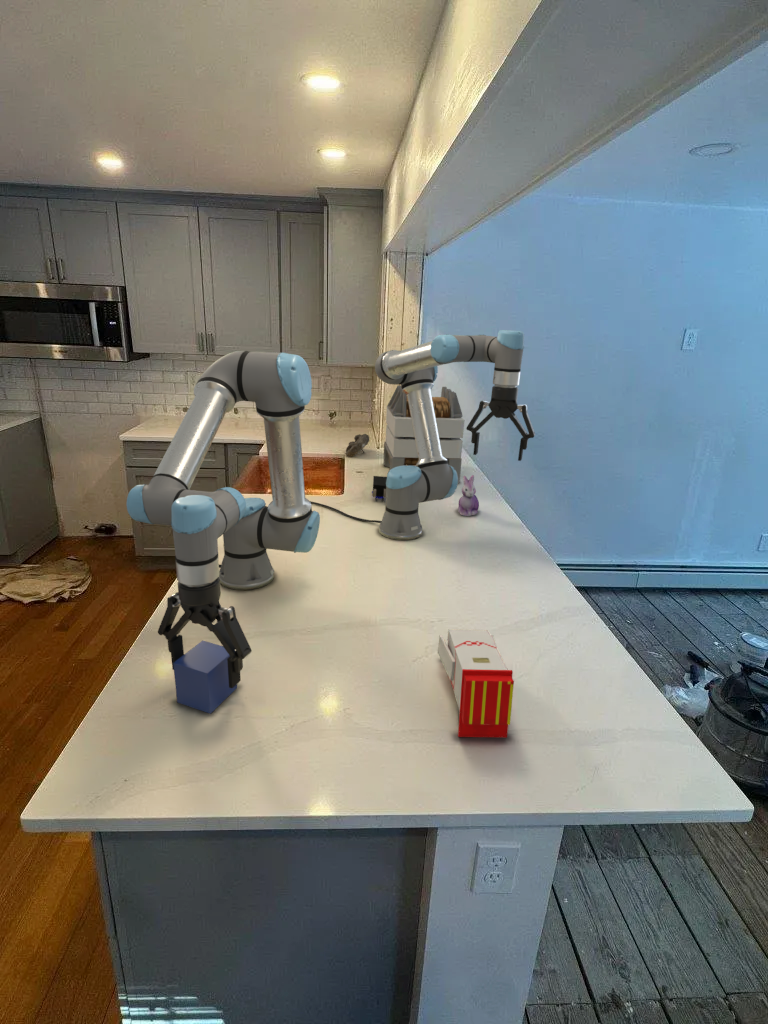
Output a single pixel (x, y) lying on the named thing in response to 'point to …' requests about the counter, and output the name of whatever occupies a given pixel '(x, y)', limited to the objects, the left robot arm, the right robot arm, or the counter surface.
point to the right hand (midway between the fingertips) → (497, 456)
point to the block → (203, 677)
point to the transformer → (401, 433)
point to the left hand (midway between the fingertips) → (206, 675)
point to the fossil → (357, 445)
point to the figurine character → (379, 487)
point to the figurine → (468, 498)
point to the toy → (478, 682)
